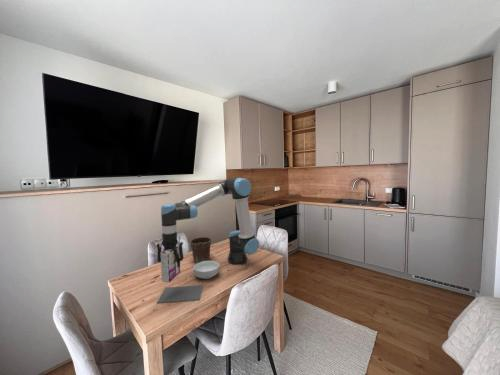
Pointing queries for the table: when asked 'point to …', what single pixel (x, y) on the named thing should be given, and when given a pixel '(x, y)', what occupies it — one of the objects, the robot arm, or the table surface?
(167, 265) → the candy bar box
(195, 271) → the cereal bowl
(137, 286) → the table surface
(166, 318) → the table surface
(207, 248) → the plant pot
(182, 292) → the mat
